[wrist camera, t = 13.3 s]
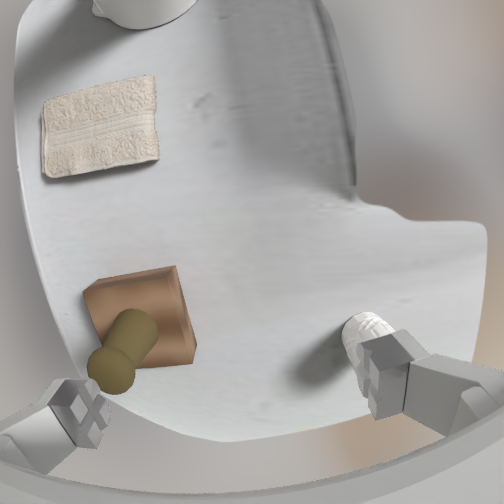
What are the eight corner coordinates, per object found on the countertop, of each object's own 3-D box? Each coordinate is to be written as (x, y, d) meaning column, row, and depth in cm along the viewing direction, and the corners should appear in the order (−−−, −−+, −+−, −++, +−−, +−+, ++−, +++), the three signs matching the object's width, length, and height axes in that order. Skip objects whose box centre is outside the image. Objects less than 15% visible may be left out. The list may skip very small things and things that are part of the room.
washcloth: (47, 105, 34) (36, 102, 31) (158, 75, 34) (152, 68, 31) (49, 182, 37) (38, 183, 34) (162, 161, 37) (156, 160, 34)
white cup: (332, 354, 44) (351, 394, 34) (343, 306, 42) (368, 341, 32) (378, 353, 44) (403, 390, 34) (390, 308, 42) (423, 339, 32)
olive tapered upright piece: (120, 349, 37) (88, 399, 26) (110, 308, 36) (71, 352, 25) (162, 350, 37) (139, 406, 26) (154, 308, 36) (125, 357, 25)
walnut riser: (97, 279, 40) (82, 291, 35) (175, 265, 40) (166, 277, 35) (123, 352, 43) (112, 370, 38) (197, 344, 43) (192, 363, 38)
